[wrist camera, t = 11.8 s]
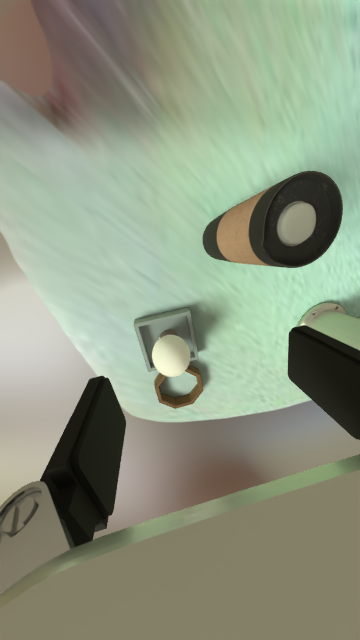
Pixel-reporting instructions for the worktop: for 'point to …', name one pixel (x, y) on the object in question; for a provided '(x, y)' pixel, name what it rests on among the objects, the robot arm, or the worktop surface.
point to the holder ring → (183, 399)
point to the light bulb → (170, 354)
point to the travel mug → (279, 224)
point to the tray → (156, 324)
